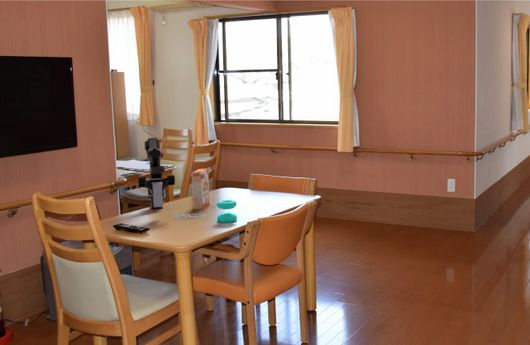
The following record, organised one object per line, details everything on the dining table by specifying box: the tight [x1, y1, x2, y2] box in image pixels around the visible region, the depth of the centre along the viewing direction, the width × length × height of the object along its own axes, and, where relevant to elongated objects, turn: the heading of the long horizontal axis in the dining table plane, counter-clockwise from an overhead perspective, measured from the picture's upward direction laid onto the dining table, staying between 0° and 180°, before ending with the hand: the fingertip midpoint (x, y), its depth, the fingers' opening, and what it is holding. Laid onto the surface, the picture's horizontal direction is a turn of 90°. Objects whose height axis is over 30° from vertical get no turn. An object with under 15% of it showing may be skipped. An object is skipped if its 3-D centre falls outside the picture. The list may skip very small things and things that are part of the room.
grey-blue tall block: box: [152, 182, 164, 208], centre depth 329 cm, size 4×4×12 cm
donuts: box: [216, 199, 238, 223], centre depth 321 cm, size 10×10×10 cm
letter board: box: [173, 211, 208, 220], centre depth 335 cm, size 12×16×1 cm
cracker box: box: [191, 168, 210, 210], centre depth 356 cm, size 14×6×21 cm, turn 168°
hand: (157, 194), depth 327 cm, fingers closed on grey-blue tall block, 4 cm apart
